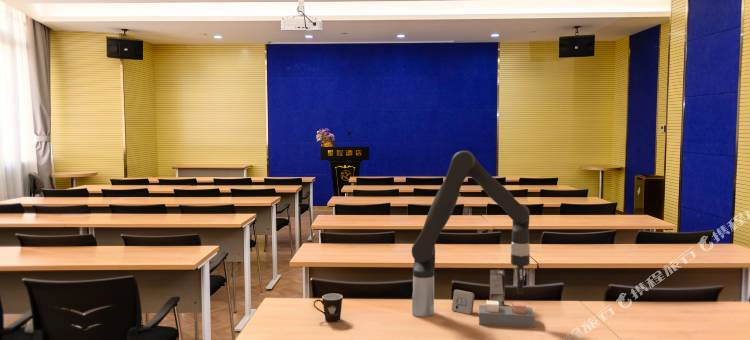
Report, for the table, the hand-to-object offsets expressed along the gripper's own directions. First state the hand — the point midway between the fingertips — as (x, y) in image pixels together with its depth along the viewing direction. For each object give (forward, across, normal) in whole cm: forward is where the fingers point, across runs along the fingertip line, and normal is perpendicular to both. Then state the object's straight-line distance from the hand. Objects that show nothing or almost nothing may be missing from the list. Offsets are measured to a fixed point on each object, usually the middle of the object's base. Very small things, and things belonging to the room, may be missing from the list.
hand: (520, 293), depth 234 cm
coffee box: (+12, -18, -9) cm, 24 cm away
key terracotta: (+9, 0, 0) cm, 9 cm away
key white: (+9, 0, -11) cm, 15 cm away
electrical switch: (+12, -10, -24) cm, 29 cm away
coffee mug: (+12, +8, -80) cm, 81 cm away
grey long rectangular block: (+12, 0, -6) cm, 14 cm away
